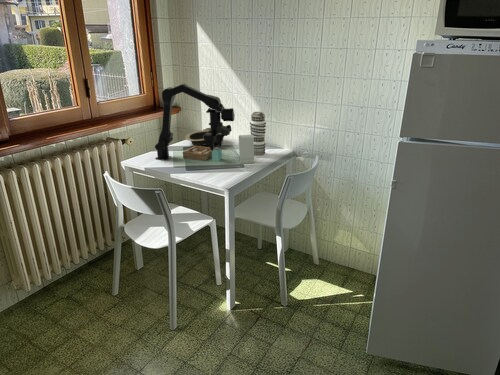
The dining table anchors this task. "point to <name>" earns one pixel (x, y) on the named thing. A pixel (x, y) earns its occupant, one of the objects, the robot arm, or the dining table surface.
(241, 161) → the skincare box
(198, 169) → the dining table surface
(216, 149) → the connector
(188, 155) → the walled box
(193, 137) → the stone bowl
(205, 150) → the socket
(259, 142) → the decorative candle
